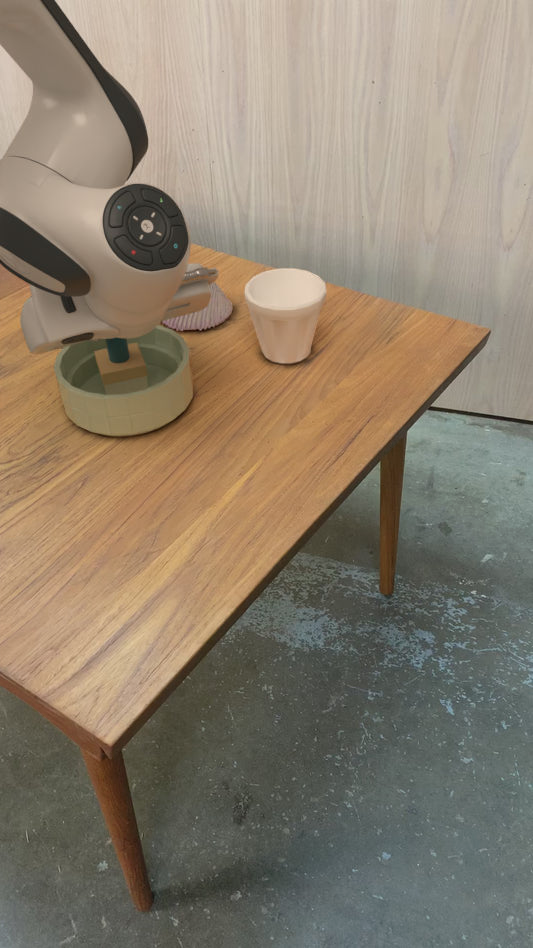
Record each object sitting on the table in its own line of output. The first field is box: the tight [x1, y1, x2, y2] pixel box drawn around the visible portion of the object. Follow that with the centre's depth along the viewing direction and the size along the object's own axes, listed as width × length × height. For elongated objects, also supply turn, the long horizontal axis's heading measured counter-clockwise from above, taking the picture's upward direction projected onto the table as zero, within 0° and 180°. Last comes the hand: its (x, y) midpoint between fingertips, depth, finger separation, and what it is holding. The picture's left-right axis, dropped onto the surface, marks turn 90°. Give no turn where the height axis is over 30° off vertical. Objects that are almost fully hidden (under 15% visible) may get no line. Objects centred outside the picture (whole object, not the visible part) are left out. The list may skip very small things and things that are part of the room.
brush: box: [94, 337, 149, 395], centre depth 90 cm, size 5×5×14 cm
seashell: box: [160, 281, 233, 332], centre depth 107 cm, size 10×6×10 cm
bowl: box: [53, 324, 194, 437], centre depth 92 cm, size 15×15×6 cm
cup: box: [243, 267, 327, 366], centre depth 97 cm, size 10×10×9 cm
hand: (112, 329), depth 90 cm, fingers closed on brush, 2 cm apart
